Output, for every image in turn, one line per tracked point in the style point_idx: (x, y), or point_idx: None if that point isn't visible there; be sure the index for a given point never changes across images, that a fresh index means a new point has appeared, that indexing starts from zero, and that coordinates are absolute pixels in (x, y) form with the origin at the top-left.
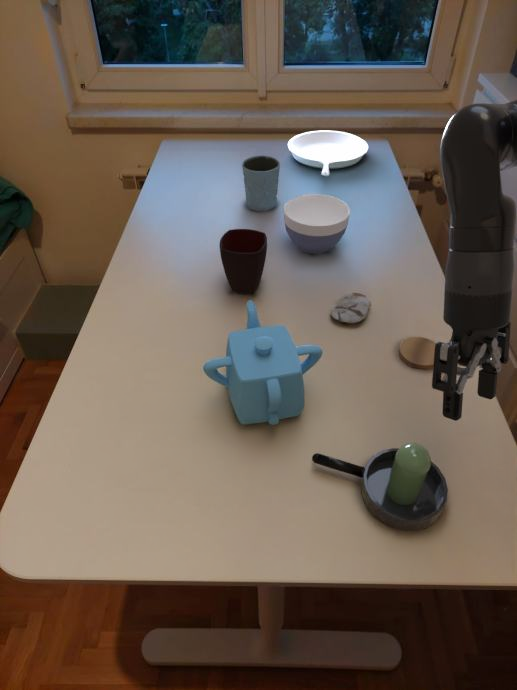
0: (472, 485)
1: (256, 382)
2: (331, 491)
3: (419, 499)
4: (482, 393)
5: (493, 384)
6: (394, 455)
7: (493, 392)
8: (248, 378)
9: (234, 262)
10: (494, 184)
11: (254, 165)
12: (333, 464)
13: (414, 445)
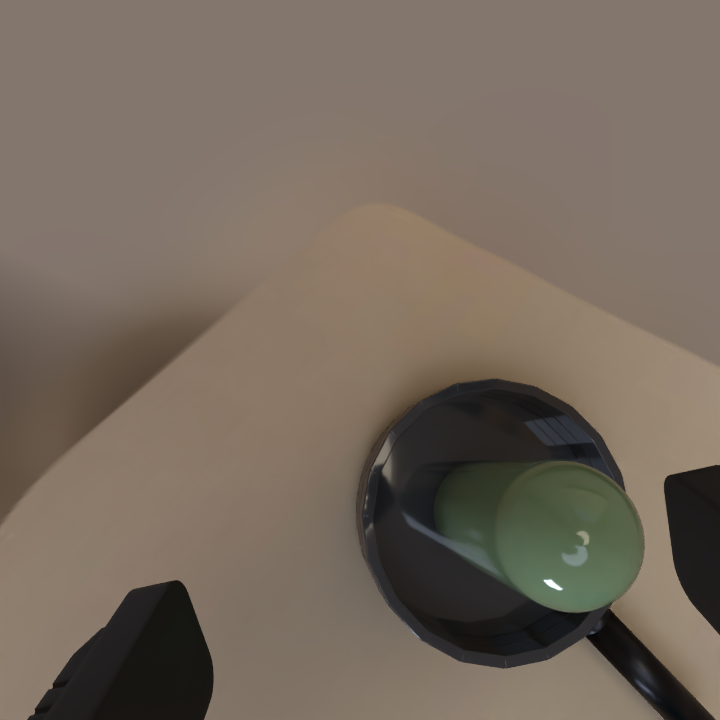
0: (260, 436)
1: None
2: (665, 608)
3: (450, 464)
4: (197, 666)
5: (116, 684)
6: (448, 636)
7: (153, 614)
8: None
9: None
10: None
11: None
12: (681, 689)
13: (590, 573)
